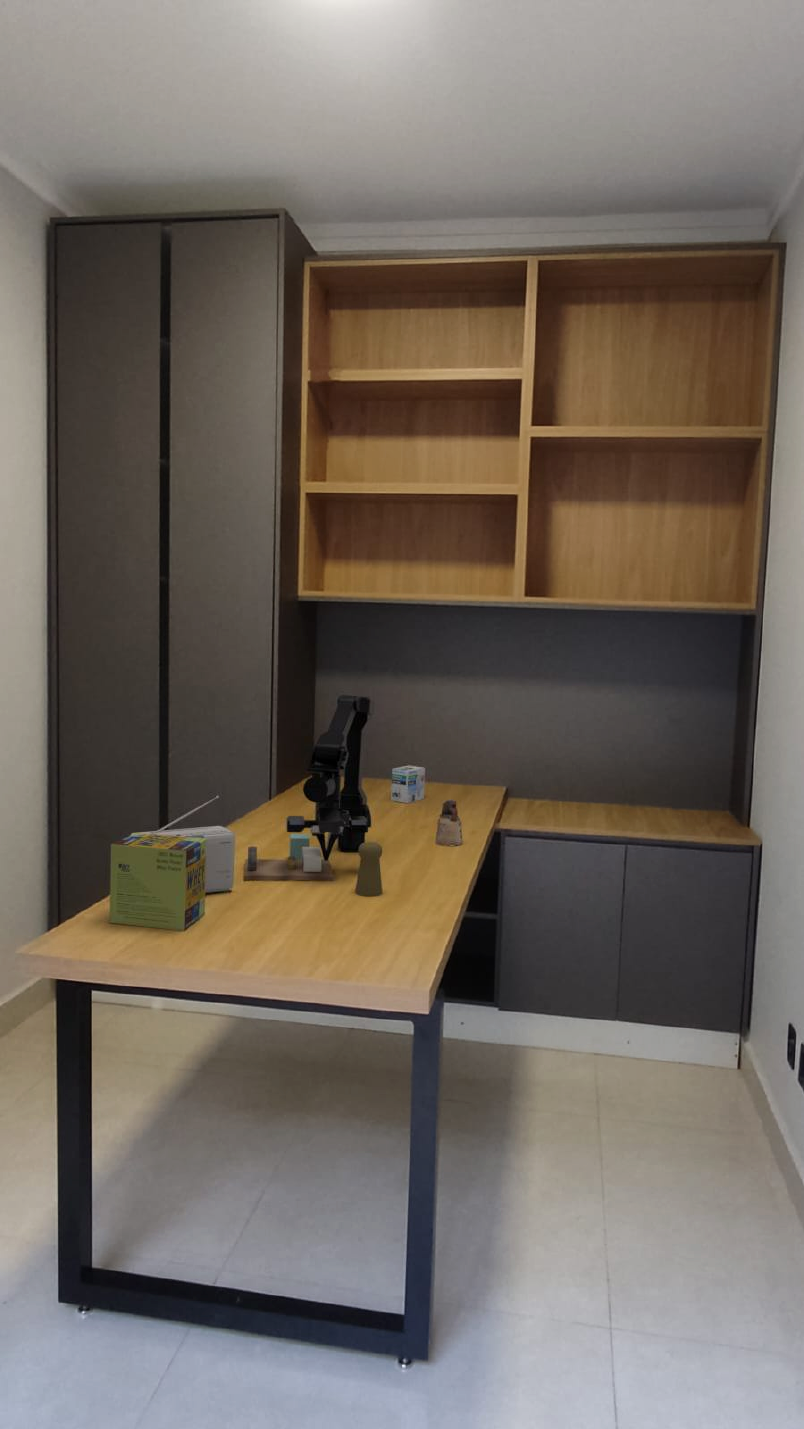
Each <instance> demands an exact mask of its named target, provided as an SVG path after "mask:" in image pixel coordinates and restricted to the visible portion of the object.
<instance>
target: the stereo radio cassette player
mask: <svg viewBox="0 0 804 1429" xmlns="http://www.w3.org/2000/svg"><path fill="white" fill-rule="evenodd" d="M219 798H220V796H219V795H217V796H215V798H213V799H211V800H209V801H206V802H205V803H203V804H202V805H200V806H198V807H196V808H194V809H192V810H190V811H189V812H187V813H184V814H183V815H182V816H180V817H179V818H176V819H175V820H173V821H172V822H170V823H168V824H167V825H165V826H162V827H161V828H160V829H157V830H154V831H141V832H138V833H145V834H157V835H171V836H182V837H193V838H206V876H205V894H207V893H209V894H210V893H218V892H227V891H229V890H230V889H231V888H233V887H234V882H235V879H234V878H235V876H234V875H235V853H236V852H235V846H236V844H235V843H236V835H235V833H234V831H231V830H229V828H227V827H224V826H221V825H214V826H201V827H189V828H187V827H186V828H177V829H175V828H174V829H167V828H169V827H171V826H173V825H175V823H176V824H177V822H179V821H181V820H182V819H185V818H186V817H188V816H190V815H191V814H193V813H195V812H197V811H198V810H200V809H201V808H203V807H204V806H206V805H208V804H209V803H211V802H213V801H215V800H216V799H219ZM166 829H167V830H166ZM135 833H136V832H132V833H131V834H130V835H133V834H135Z"/></svg>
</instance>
